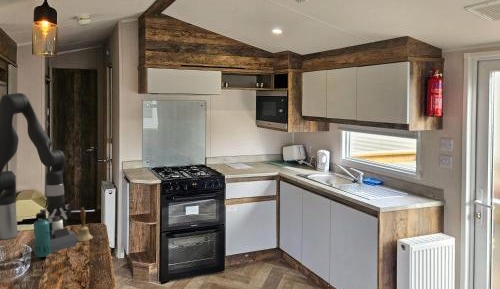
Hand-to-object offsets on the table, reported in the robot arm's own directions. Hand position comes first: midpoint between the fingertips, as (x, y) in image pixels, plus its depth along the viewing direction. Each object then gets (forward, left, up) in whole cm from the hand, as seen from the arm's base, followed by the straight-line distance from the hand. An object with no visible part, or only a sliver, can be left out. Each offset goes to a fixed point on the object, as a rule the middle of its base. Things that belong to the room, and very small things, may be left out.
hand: (57, 228), depth 201 cm
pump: (0, 0, -3) cm, 3 cm away
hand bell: (-2, +14, -9) cm, 17 cm away
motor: (0, -1, -9) cm, 9 cm away
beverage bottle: (+8, -10, -9) cm, 16 cm away
